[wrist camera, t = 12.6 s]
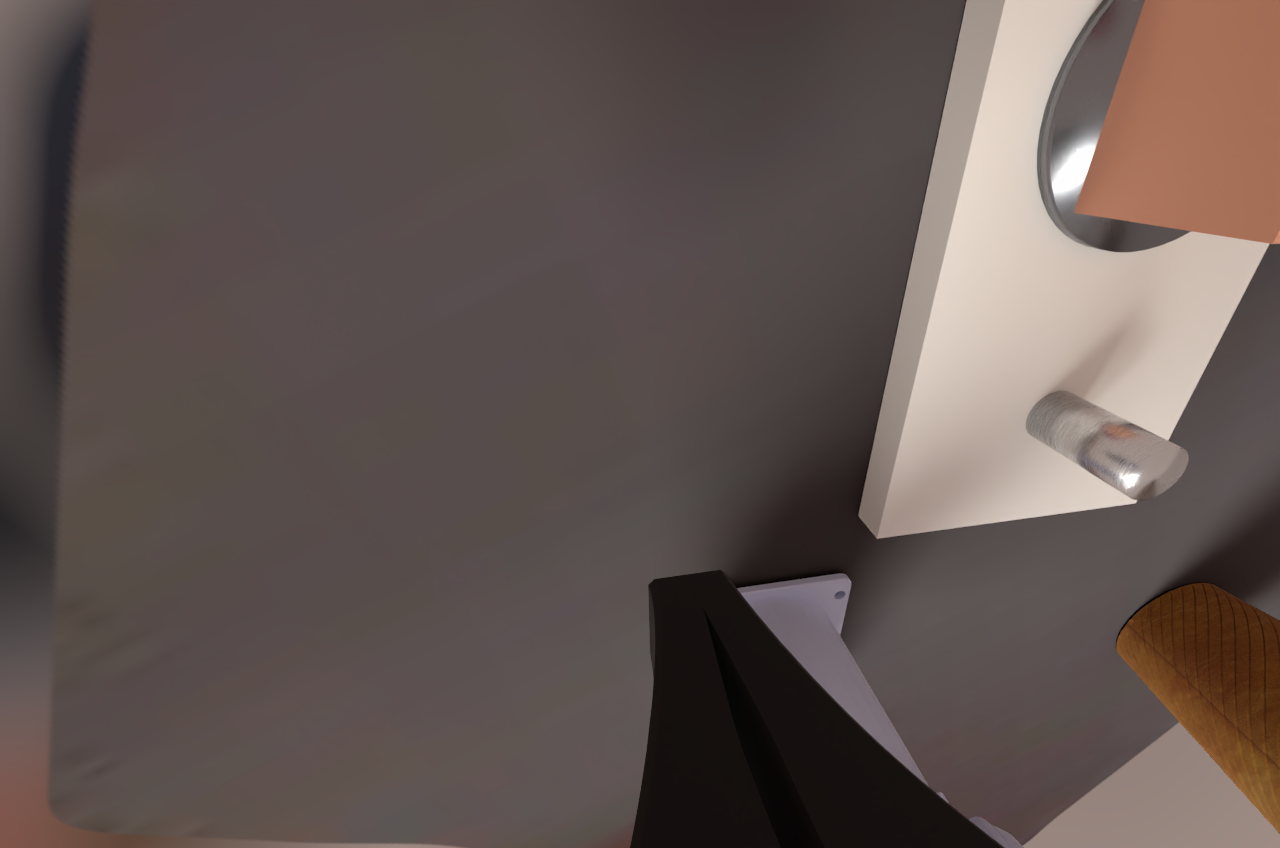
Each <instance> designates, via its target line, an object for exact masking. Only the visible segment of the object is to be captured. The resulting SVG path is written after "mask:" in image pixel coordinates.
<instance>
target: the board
mask: <svg viewBox="0 0 1280 848" xmlns="http://www.w3.org/2000/svg"><path fill="white" fill-rule="evenodd" d="M1102 1H1103V0H967V1H966V6H965V11H964V15H963V20H962V25H961V30H960V34H959V39H958V44H957V49H956V53H955V58H954V63H953V68H952V72H951V77H950V82H949V87H948V91H947V96H946V101H945V106H944V110H943V115H942V120H941V125H940V129H939V134H938V139H937V144H936V148H935V153H934V158H933V163H932V167H931V172H930V177H929V182H928V186H927V191H926V196H925V201H924V205H923V210H922V215H921V220H920V224H919V229H918V234H917V239H916V243H915V248H914V253H913V258H912V262H911V267H910V272H909V277H908V281H907V286H906V291H905V296H904V300H903V305H902V310H901V315H900V319H899V324H898V329H897V334H896V338H895V343H894V348H893V353H892V357H891V362H890V367H889V372H888V376H887V381H886V386H885V391H884V395H883V400H882V405H881V410H880V414H879V419H878V424H877V429H876V433H875V438H874V443H873V448H872V452H871V457H870V462H869V467H868V471H867V476H866V481H865V486H864V490H863V495H862V500H861V505H860V509H859V514H858V516H859V517H860V519H861V520H862V521H863V522H864V523H865V525H866V526H867V527H868V528H869V530H870V531H871V532H872V533H873V534H874V536H875V537H876V538H877V539H879V538H886V537H893V536H901V535H908V534H915V533H923V532H930V531H937V530H944V529H952V528H959V527H966V526H974V525H981V524H988V523H996V522H1003V521H1010V520H1017V519H1025V518H1032V517H1039V516H1047V515H1054V514H1061V513H1068V512H1076V511H1083V510H1090V509H1098V508H1105V507H1112V506H1120V505H1127V504H1134V503H1136V502H1137V500H1133V499H1131V498H1130V497H1128V496H1126V495H1125V494H1123V493H1122V492H1120V491H1118V490H1117V489H1115V488H1114V487H1112V486H1110V485H1109V484H1107V483H1106V482H1104V481H1102V480H1101V479H1099V478H1098V477H1096V476H1094V475H1093V474H1091V473H1090V472H1088V471H1086V470H1085V469H1083V468H1082V467H1080V466H1078V465H1077V464H1075V463H1074V462H1072V461H1071V460H1069V459H1067V458H1066V457H1064V456H1063V455H1061V454H1059V453H1058V452H1056V451H1055V450H1053V449H1051V448H1050V447H1048V446H1047V445H1045V444H1043V443H1042V442H1040V441H1039V440H1037V439H1035V438H1034V437H1032V436H1031V435H1029V433H1028V432H1027V430H1026V420H1027V417H1028V415H1029V413H1030V411H1031V409H1032V408H1033V407H1034V406H1035V404H1036V403H1037V402H1038V401H1040V400H1041V399H1042V398H1043V397H1045V396H1047V395H1048V394H1050V393H1053V392H1056V391H1063V390H1064V391H1069V392H1071V393H1073V394H1075V395H1077V396H1079V397H1081V398H1083V399H1085V400H1087V401H1089V402H1091V403H1093V404H1095V405H1097V406H1099V407H1101V408H1103V409H1105V410H1107V411H1109V412H1111V413H1113V414H1115V415H1117V416H1119V417H1121V418H1123V419H1125V420H1127V421H1129V422H1131V423H1133V424H1135V425H1137V426H1139V427H1141V428H1143V429H1145V430H1147V431H1149V432H1151V433H1154V434H1156V435H1158V436H1160V437H1162V438H1164V439H1166V440H1169V438H1170V436H1171V434H1172V432H1173V430H1174V428H1175V426H1176V424H1177V422H1178V420H1179V418H1180V416H1181V414H1182V412H1183V411H1184V409H1185V407H1186V405H1187V403H1188V401H1189V399H1190V397H1191V395H1192V393H1193V391H1194V389H1195V387H1196V385H1197V383H1198V381H1199V380H1200V378H1201V376H1202V374H1203V372H1204V370H1205V368H1206V366H1207V364H1208V362H1209V360H1210V358H1211V356H1212V354H1213V352H1214V350H1215V348H1216V347H1217V345H1218V343H1219V341H1220V339H1221V337H1222V335H1223V333H1224V331H1225V329H1226V327H1227V325H1228V323H1229V321H1230V319H1231V317H1232V316H1233V314H1234V312H1235V310H1236V308H1237V306H1238V304H1239V302H1240V300H1241V298H1242V296H1243V294H1244V292H1245V290H1246V288H1247V286H1248V285H1249V283H1250V281H1251V279H1252V277H1253V275H1254V273H1255V271H1256V269H1257V267H1258V265H1259V263H1260V261H1261V259H1262V257H1263V255H1264V253H1265V252H1266V250H1267V248H1268V246H1269V243H1263V242H1256V241H1250V240H1244V239H1237V238H1231V237H1225V236H1218V235H1212V234H1206V233H1199V232H1193V231H1191V232H1189V233H1187V234H1185V235H1184V236H1182V237H1180V238H1178V239H1176V240H1173V241H1171V242H1168V243H1166V244H1164V245H1161V246H1158V247H1154V248H1151V249H1147V250H1142V251H1135V252H1112V251H1106V250H1101V249H1096V248H1091V247H1087V246H1085V245H1082V244H1080V243H1077V242H1075V241H1073V240H1072V239H1070V238H1069V237H1067V236H1066V235H1064V234H1063V233H1062V232H1061V231H1060V230H1059V229H1058V228H1057V227H1056V225H1055V224H1054V222H1053V221H1052V220H1051V218H1050V217H1049V215H1048V213H1047V211H1046V208H1045V206H1044V204H1043V201H1042V197H1041V194H1040V190H1039V185H1038V175H1037V148H1038V140H1039V133H1040V127H1041V123H1042V119H1043V115H1044V110H1045V107H1046V104H1047V101H1048V98H1049V95H1050V92H1051V89H1052V86H1053V84H1054V81H1055V79H1056V77H1057V75H1058V72H1059V70H1060V68H1061V65H1062V63H1063V61H1064V59H1065V58H1066V56H1067V54H1068V52H1069V50H1070V48H1071V46H1072V45H1073V43H1074V41H1075V39H1076V38H1077V36H1078V35H1079V33H1080V32H1081V30H1082V28H1083V27H1084V25H1085V24H1086V22H1087V21H1088V19H1089V18H1090V16H1091V15H1092V14H1093V13H1094V11H1095V10H1096V9H1097V7H1098V6H1099V5H1100V4H1101V2H1102Z"/></svg>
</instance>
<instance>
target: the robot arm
mask: <svg viewBox="0 0 1280 848" xmlns="http://www.w3.org/2000/svg"><path fill="white" fill-rule="evenodd" d="M648 587H649V623H650V654H651V661H652V667H653V676H654V686H653V699H652V709H651V717H650V726H649V735H648V744H647V752H646V759H645V766H644V773H643V779H642V785H641V792H640V797H639V803H638V809H637V815H636V821H635V826H634V831H633V836H632V841H631V846H630V848H1023V847H1022V845H1021V844H1020V843H1019V842H1018V841H1017V840H1016V839H1015V838H1014V837H1013V836H1012V835H1010V834H1009V833H1007V832H1006V831H1004V830H1001V829H999V828H997V827H995V826H993V825H991V824H989V823H988V822H987V821H986V820H985V819H983V818H980V817H973V818H970V819H967V818H966V817H965V816H963V815H962V814H961V813H959V812H958V811H957V810H956V809H955V808H953V807H952V806H951V805H950V804H949V803H948V801H947V800H946V798H945V796H944V795H943V793H941V792H934V791H933V790H932V789H931V788H930V787H929V786H928V784H927V782H926V781H925V779H924V777H923V776H922V774H921V772H920V770H919V769H918V767H917V765H916V764H915V762H914V760H913V759H912V757H911V755H910V754H909V752H908V750H907V748H906V747H905V745H904V743H903V742H902V740H901V738H900V737H899V735H898V733H897V731H896V730H895V728H894V726H893V725H892V723H891V721H890V720H889V718H888V716H887V715H886V713H885V711H884V709H883V708H882V706H881V704H880V703H879V701H878V699H877V698H876V696H875V694H874V693H873V691H872V689H871V687H870V686H869V684H868V682H867V681H866V679H865V677H864V676H863V674H862V672H861V670H860V669H859V667H858V665H857V664H856V662H855V660H854V659H853V657H852V655H851V654H850V652H849V650H848V648H847V647H846V645H845V643H844V642H843V640H842V638H841V637H840V634H841V630H842V625H843V621H844V616H845V612H846V607H847V603H848V598H849V593H850V589H851V581H850V579H849V578H848V576H847V575H846V574H843V573H838V574H832V575H825V576H818V577H811V578H804V579H797V580H790V581H783V582H776V583H769V584H762V585H755V586H748V587H742V588H736V587H735V585H734V584H733V583H732V581H731V580H730V579H729V577H728V576H727V575H726V574H725V573H724V572H723V571H721V570H717V571H710V572H703V573H695V574H688V575H681V576H674V577H667V578H660V579H654V580H653V581H652V582H651V583H650V584H649V585H648Z"/></svg>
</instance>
